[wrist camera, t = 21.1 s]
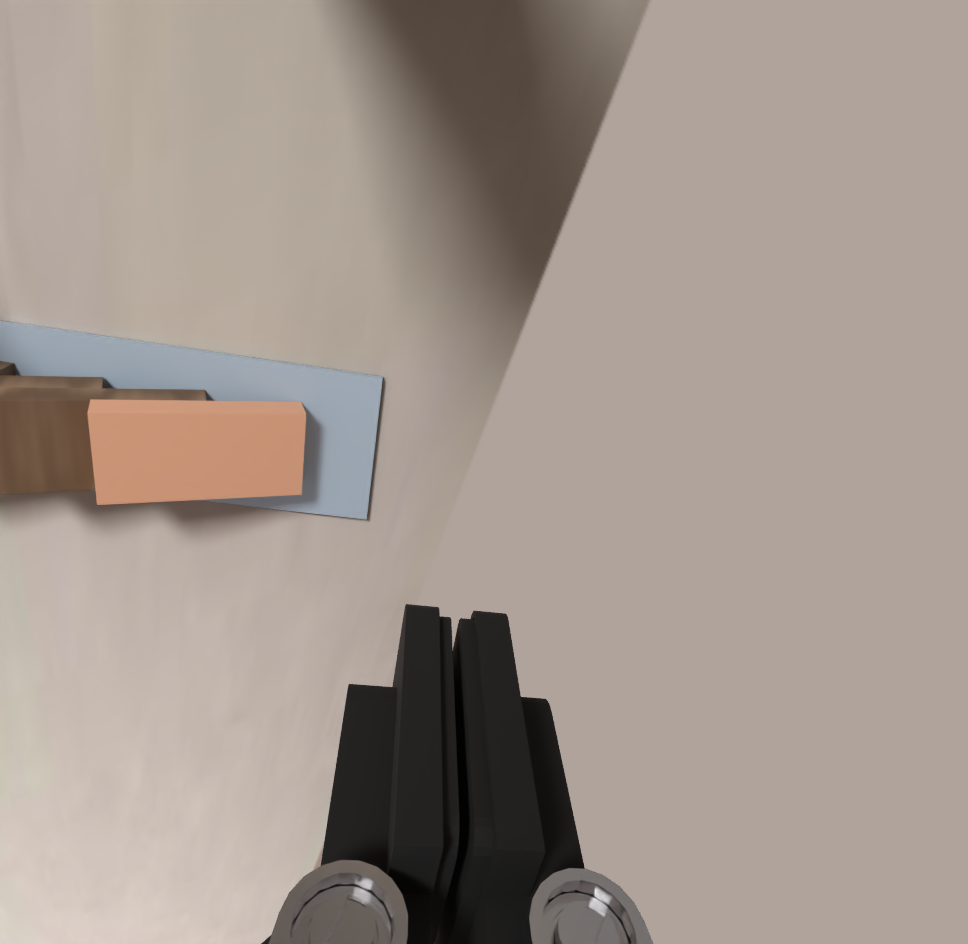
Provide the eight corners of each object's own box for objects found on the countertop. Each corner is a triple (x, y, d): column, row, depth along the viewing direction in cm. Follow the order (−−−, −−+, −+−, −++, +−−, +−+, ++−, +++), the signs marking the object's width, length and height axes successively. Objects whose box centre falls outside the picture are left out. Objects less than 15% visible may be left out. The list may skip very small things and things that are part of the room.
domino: (206, 470, 44) (-8, 479, 39) (204, 389, 42) (-25, 386, 36) (208, 484, 43) (-14, 495, 37) (206, 401, 40) (-33, 400, 35)
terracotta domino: (306, 413, 41) (87, 413, 36) (301, 494, 44) (97, 505, 38) (300, 401, 42) (90, 399, 37) (296, 480, 45) (99, 488, 40)
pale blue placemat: (-30, 316, 39) (-34, 317, 38) (382, 376, 42) (382, 378, 42) (-1, 474, 44) (-5, 477, 43) (367, 516, 47) (366, 519, 47)
